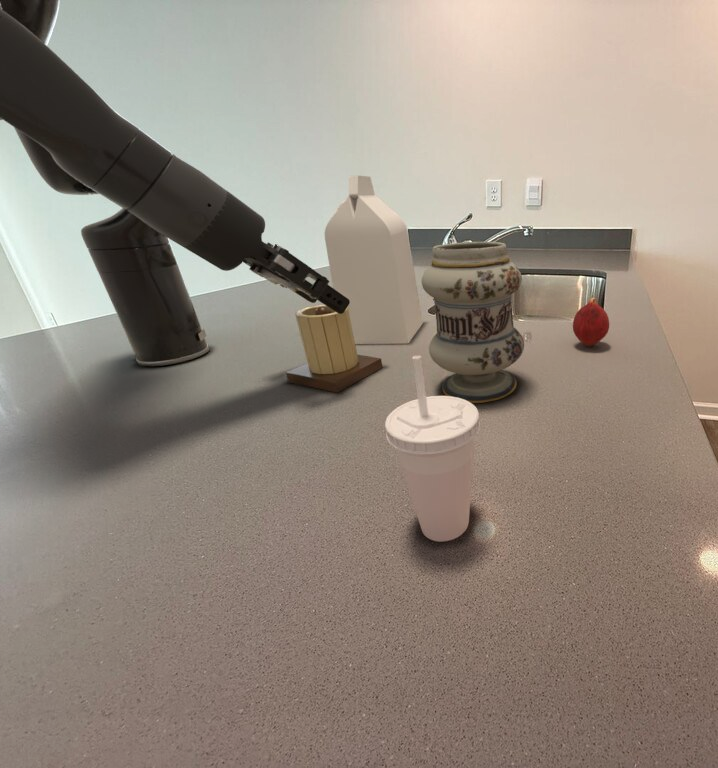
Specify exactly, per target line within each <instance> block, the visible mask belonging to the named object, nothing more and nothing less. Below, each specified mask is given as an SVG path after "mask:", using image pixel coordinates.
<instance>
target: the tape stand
mask: <svg viewBox="0 0 718 768" xmlns="http://www.w3.org/2000/svg"><path fill="white" fill-rule="evenodd" d="M330 313H331V310H330V309H329V308H328V307H325V306H321V307H319V308H317V310H316V312H315V314H316V315H324V314H330ZM357 356H358V363H357V365H356V366H355V367H353V368H351V369H349V370H346V371H343V372H339V373H334V374H316V373H313V372H311V371H310V369H309V366H308V362H307V363H304V364H301V365H299V366H297V367H295V368H293V369H291V370H288V371H286V372H285V374H286V378H287V382H288V383H290V384H295V385H299V386H305V387H309V388H314V389H319V390H324V391H327V392H332V393H333V392H334V393H340V392H342V391H343V390H345V389H347V388H348V387H350V386H352V385H354V384H356V383H358V382H359V381H361V380H363V379H365V378H367V377H369V376H370V375H371V374H374V373H376V372H377V371H379V370H381V369H382V368H384V367H383V360H382V358H381V357H375V356H369V355H362V354H357Z"/></svg>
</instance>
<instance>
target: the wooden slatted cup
mask: <svg viewBox="0 0 718 768" xmlns="http://www.w3.org/2000/svg"><path fill="white" fill-rule="evenodd" d="M321 306H325V307H327V306H326V305H324V304H318V305H313V306H308V307H303V308H301V309H298V311H296V312H295V313H294V315H295V319H296V324H297V327H298V331H299V334H300V339H301V342H302V347H303V350H304V355H305V358H306V362H307V363H308V366H309V369H310V371H311V372H313V373H316V374H334V373H339V372H343V371H346V370H349V369H351V368H353V367H355V366H356V365H357V363H358V356H357V355H358V352H357V346H356V344H355V341H354V336H353V331H352V325H351V320H350V315H349V310H348V307H347V308H346V310H345V311H344V313H342V314H339V313H337V312H335V311H334V310H332V309H331V308H329V307H328V308H329V309H330V310H331V313H330V314H324V315H316V314H315V312H316V310H317V308H319V307H321Z"/></svg>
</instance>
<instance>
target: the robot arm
mask: <svg viewBox="0 0 718 768" xmlns="http://www.w3.org/2000/svg"><path fill="white" fill-rule="evenodd" d="M60 1H61V0H0V121H2V120H3V121H5V123H7V124H9V125H10V126H12V127H13V128H14V130H15V132H16V135H17V136H18V138H19V141H20V142H21V145H22V146H23V148H24V150H25V152H26V154H27V156H28V157H29V159H30V162H31V163H32V165H33V166H34V168H35V170H36V171H37V173H38V174H39V176H40V177H41V178H42V179H43V181H44V182H45V183H46V184H47V185H48V186H49V187H50V188H51V189H52V190H54V191H56V192H58V193H60V194H62V195H72V196H89V195H91V196H102V197H104V198H105V199H107V200H109V201H110V202H112V203H114V204H115V205H117V206H119V207H121V209H119V210H118V211H117V212H116V213H114V214H112V215H111V216H108V217H106V218H104V219H101V220H98V221H96V222H92V223H90V224H87V225H85V226H83V227H82V228H81V230H80V234H81V237H82V240H83V242H84V245H85V247H86V248H87V251H88V253H89V255H90V257H91V260H92V263H93V264H94V267H95V269H96V271H97V273H98V275H99V278H100V280H101V281H102V284H103V287H104V289H105V291H106V293H107V296H108V298H109V300H110V302H111V304H112V306H113V309H114V311H115V313H116V315H117V317H118V319H119V322H120V324H121V326H122V328H123V331H124V332H125V335H126V338H127V339H128V343H129V345H130V347H131V349H132V351H133V353H134V355H135V360H136V362H137V364H138V365H139V366H143V367H163V366H170V365H176V364H180V363H185V362H187V361H190V360H194V359H196V358H199V357H201V356H203V355H205V354H206V353H208V352H209V351H210V347H209V344H208V343H207V341H206V337H207V332H206V330H205V329H204V328H203V329H202V326H201V323H200V320H199V318H198V315H197V313H196V310H195V307H194V303H193V302H192V298H191V296H190V293H189V291H188V288H187V285H186V283H185V279H184V277H183V273H182V271H181V269H180V265H179V263H178V261H177V258H176V255H175V252H174V250H173V246H172V244H171V241H172V242H174V243H176V244H177V245H179V246H181V247H182V248H184V249H186V250H187V251H189V252H191V253H193V254H194V255H196V256H198V258H200V259H202V260H204V261H206V262H208V263H209V264H211V265H213V266H215V267H216V268H218V269H220V270H222V271H225V272H228V271H232V270H234V269H236V268H238V267H239V266H241V265H242V264H245V265H247V266H249V268H248V270H249V271H251V272H252V273H253V274H256V275H257V276H259V277H261V278H264V279H265V280H267V281H268V282H270V283H272V284H274V285H279V286H280V287H281V288H286V289H289V291H292V292H293V293H295V294H296V295H298V296H299V297H301V298H303V299H304V300H306V301H307V302H308V303H311V304H315V303H316V302H317V301H318V302H320V303H321V304H322V305H326V306H327V307H329V308H331V309H332V310H334V311H335V312H337V313H339V314H342V313H344V311H345V310H346V308H347V307H348V305H349V303H350V301H349V299H348V298H346V297H345V296H343V295H342V294H341V293H339V292H338V291H336V290H335V289H333V286H331V285H329V284H330V280H329V279H328V278H327V277H326V276H324V275H322V274H321V273H319V272H318V271H316V270H315V269H313V268H312V267H310V266H309V265H308V264H306V263H305V262H303V261H302V260H300V259H299V258H297V256H295V255H293V253H291V252H290V251H289V250H287V249H286V248H284V247H283V246H281V245H279V244H277V243H275V244H272V243H271V242H265V241H263V237H262V236H263V234H264V232H265V229H266V220H265V218H264V217H263V216H262V215H260V214H259V212H257V211H255V210H254V209H252V208H251V207H250V206H249V205H247V204H246V203H244V202H243V201H242V200H241V199H239V198H238V197H237V196H235V195H234V194H232V193H231V192H229V191H228V190H227V189H226V188H224V187H223V186H222V185H220V184H219V183H217V181H215V180H214V179H212V178H211V177H210V176H209V175H207V174H206V173H204V172H203V171H201V170H200V169H198V168H197V167H195V166H194V165H192V164H190V163H189V162H187V161H185V160H183V158H180V157H179V156H177V155H176V154H175V153H172V151H170V150H169V149H168V148H166V147H165V146H164V145H162V144H161V143H160V142H158V141H156V139H155V138H153V137H152V136H150V135H149V134H148V133H146V131H143V129H140V127H138V126H137V125H135V124H134V123H132V122H131V121H129V120H128V119H127V118H125V117H124V116H122V115H121V114H119V113H118V112H117V111H116V110H114V108H112V107H111V106H110V104H108V103H107V102H106V101H105V99H104V98H103V97H102V96H101V95H100V94H99V93H98V92H97V91H96V90H95V89H94V88H93V87H92V86H91V85H90V84H88V83H87V82H86V80H84V79H83V78H82V77H81V76H80V75H79V74H78V73H77V72H76V71H75V70H74V69H73V68H71V66H70V65H68V64H67V63H66V62H65V60H63V59H62V58H61V57H60V56H59V55H58V54H57V53H56V52H55V51H53V50H52V49H51V48H50V47H49V46H48V45H49V42H50V39H51V37H52V34H53V31H54V28H55V25H56V22H57V18H58V14H59V10H60V3H61V2H60ZM170 240H171V241H170ZM307 278H310V279H311V280H313V281H314V282H313V283H311V282H310V281H308V280H307Z"/></svg>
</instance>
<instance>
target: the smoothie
mask: <svg viewBox="0 0 718 768" xmlns="http://www.w3.org/2000/svg"><path fill="white" fill-rule="evenodd" d="M412 365H413V374H414V381H415V388H416V396H417V398H416V399H413V400H410V401H407V402H405V403H403V404H401V405H399V406H398V407H396V408H395V409H393V410H392V411H391V412H390V413H389V414H388V416H387V417H386V419H385V422H384V428H385V432H386V434H385V437H386V439H387V442H388V444H389V445H390V446H392V447H393V448H394V450H395V453H396V457H397V460H398V463H399V465H400V468H401V471H402V474H403V477H404V481H405V483H406V486H407V490H408V492H409V496H410V499H411V502H412V505H413V508H414V511H415V514H416V517H417V520H418V523H419V526H420V530H421V532H422V534H423V535H424V536H425V537H426V538H427V539H429V540H431V541H434V542H450V541H452V540H455V539H457V538H459V537H461V536H462V535H463V534H464V533H465V532H466V530H467V529H468V527H469V524H470V511H471V497H472V485H473V483H472V482H473V470H474V469H473V468H474V456H475V446H476V436H477V435H478V434H479V433H480V429H481V421H480V414H479V413H480V412H479V410H478V408H477V407H476V406H475V404H474V403H470V402H468V401H466V400H464V399H461V398H457V397H452V396H446V395H431V396H427V392H426V383H425V377H424V370H423V369H424V368H423V361H422V356H421V355H413V356H412Z"/></svg>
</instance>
